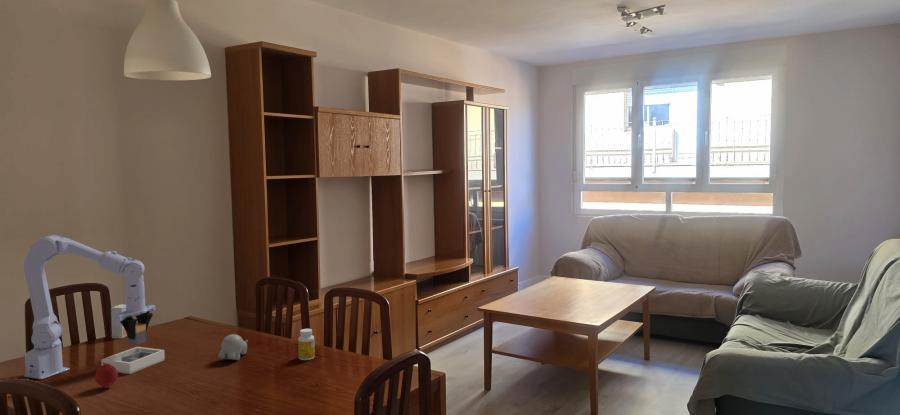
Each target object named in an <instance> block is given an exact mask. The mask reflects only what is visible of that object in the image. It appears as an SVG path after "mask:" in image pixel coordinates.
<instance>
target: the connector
mask: <svg viewBox="0 0 900 415" xmlns="http://www.w3.org/2000/svg"><path fill="white" fill-rule="evenodd" d="M146 342H147V332H146V324H141V323H138V322H136V326H135V339H128V336H126V344H127V345H135V346H137V345H141V344H143V343H146Z"/></svg>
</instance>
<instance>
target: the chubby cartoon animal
mask: <svg viewBox="0 0 900 415" xmlns="http://www.w3.org/2000/svg"><path fill="white" fill-rule="evenodd" d="M248 341H249V340H248V339H246V340H243V338H242V336H241V335H238V334H236V333H235V334H234V333H233V334H228V335H227V336H225V337H224V338H223V340H222V342H221V345H220V346H221V350H220V351H219V352H218V355H217V357H218V358H219V359H223V360H228V361H229V360H233V361H240V359H241V355H242V356H243V355H246V353H247V352H248V350H247V349H248V343H249V342H248Z"/></svg>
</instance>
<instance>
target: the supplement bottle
mask: <svg viewBox="0 0 900 415" xmlns="http://www.w3.org/2000/svg"><path fill="white" fill-rule="evenodd" d="M297 339H298V342H297V344H298V347H297V348H298V359H299V360H300V361H310V360H313V359H314V358H315V352H316V351H315V350H316V349H315V346H316V345H315V336H314V335H313V330H312V329H311V328H303V329H300V330H299V337H298V338H297Z"/></svg>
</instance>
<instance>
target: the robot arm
mask: <svg viewBox="0 0 900 415" xmlns="http://www.w3.org/2000/svg"><path fill="white" fill-rule="evenodd" d="M69 254H72V255H75V256H79V257H82V258H85V259H88V260H91V261H94V262H96V263H98V265H99V267H100V268H101V269H104V270H107V271H110V272H113V273H115V274H118V275H122V276H123V277H124V294H125V305H126V311H124V312H122V313H120V314H117V315H115V321H120V323H121V324H122V325H123V327H124V329H125V331H126V333H127V336H128V339H135V326H136V323H141V324H146V333H147V331H148V327H149V324H150V321H151V320H152V318H153V316H154V315H153V313H152V312H156V311H157V309H156V305H155V304H149V305H146V293H145V292H146V289H145V282H144V280H145V277H144V273H145V270H146V268H145V265H144V263H143V262H142V261H140V260H139V259H133V257H130V256H129V257H127V256H123V255H121V254H119V253H118V252H117V251H116V250H112V251H110V250H108V251H105V252H102V251H99V250H98V249H95V248H92V247H90V246H88V245H85V244H82V243H81V242H78V241H76V240H73V239H71V238H68V237H64V236H63V237H62V236H60V235H58V234H49V235H47V236H45V237H41V238H39V239H37V240H36V241H35V242H34V243H33V244H32V245H30V247H29V251H28V253H27V255H26V257H25V260H24V261H23V269H24V274H25V279H26V284H27V285H26V286H27V289H28V290H27V291H28V294H29V299H30V305H31V308H32V313H33V314H32V315H33V322H32V335H31V338H30V339H31V340H30V341H31V343H32V345H33V347H34V348H32V349H31V350H28V351H27V352H26V353H25V355H24V370H25V372H24V373H25V374H24V375H23V377H24V378H31V379H38V380H44V379H47V378H49V377H53V376H54V375H55V376H56V375H58V374H60V373H64V372H66V371H69V370H70V367H66V366H63V365H64V364H63V350H62V349H63V348H62V347H63V346H62V341H61V339H60V337H61V336H62V334H63V332H64V330H63V326H62V325H61V323H60V322H59V321H58V318H57V316H56V314H55V313H54V309H53V305H52V304H53V303H52V299H51V295H50V294H51V293H50V289H49V284H48V280H47V274H46V270H45V266H46V265H47V264H48V263H49V261H50V260H52V258H53V257H55V256H56V255H59V256H61V255H69ZM134 317H135V318H134ZM127 336H126V337H127Z"/></svg>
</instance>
